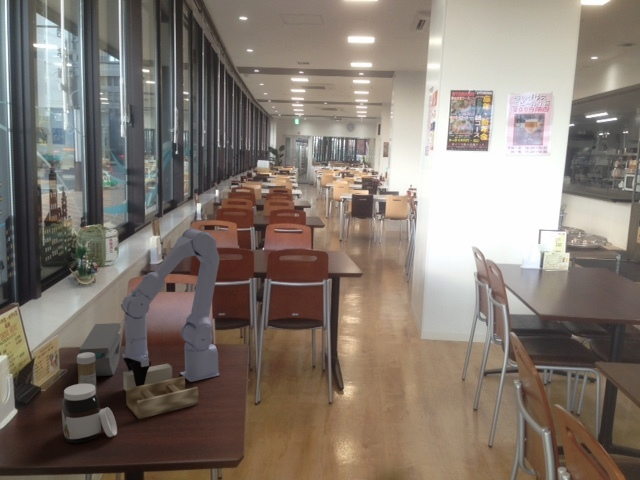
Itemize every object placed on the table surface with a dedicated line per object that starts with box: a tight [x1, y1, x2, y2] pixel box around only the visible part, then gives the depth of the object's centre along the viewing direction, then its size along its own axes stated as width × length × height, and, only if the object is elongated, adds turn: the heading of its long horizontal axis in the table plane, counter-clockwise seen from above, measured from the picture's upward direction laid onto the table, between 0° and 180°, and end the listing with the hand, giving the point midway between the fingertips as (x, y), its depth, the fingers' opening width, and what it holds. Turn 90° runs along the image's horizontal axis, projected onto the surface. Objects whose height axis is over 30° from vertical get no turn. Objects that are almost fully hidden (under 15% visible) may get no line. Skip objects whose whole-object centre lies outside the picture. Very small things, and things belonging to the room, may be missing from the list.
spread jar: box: [61, 383, 118, 444], centre depth 138 cm, size 12×11×12 cm
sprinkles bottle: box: [76, 352, 97, 396], centre depth 156 cm, size 5×5×13 cm
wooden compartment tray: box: [125, 376, 199, 420], centre depth 156 cm, size 16×10×4 cm, turn 125°
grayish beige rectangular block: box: [122, 363, 173, 392], centre depth 167 cm, size 13×4×5 cm, turn 125°
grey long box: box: [78, 322, 122, 377], centre depth 180 cm, size 25×8×11 cm, turn 11°
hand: (137, 383), depth 166 cm, fingers closed on grayish beige rectangular block, 3 cm apart
